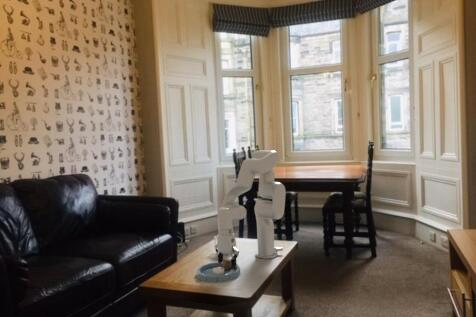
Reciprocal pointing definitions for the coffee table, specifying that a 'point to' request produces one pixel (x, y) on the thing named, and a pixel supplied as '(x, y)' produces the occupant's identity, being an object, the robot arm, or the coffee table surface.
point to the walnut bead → (227, 264)
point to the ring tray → (217, 272)
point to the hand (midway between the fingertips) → (227, 264)
